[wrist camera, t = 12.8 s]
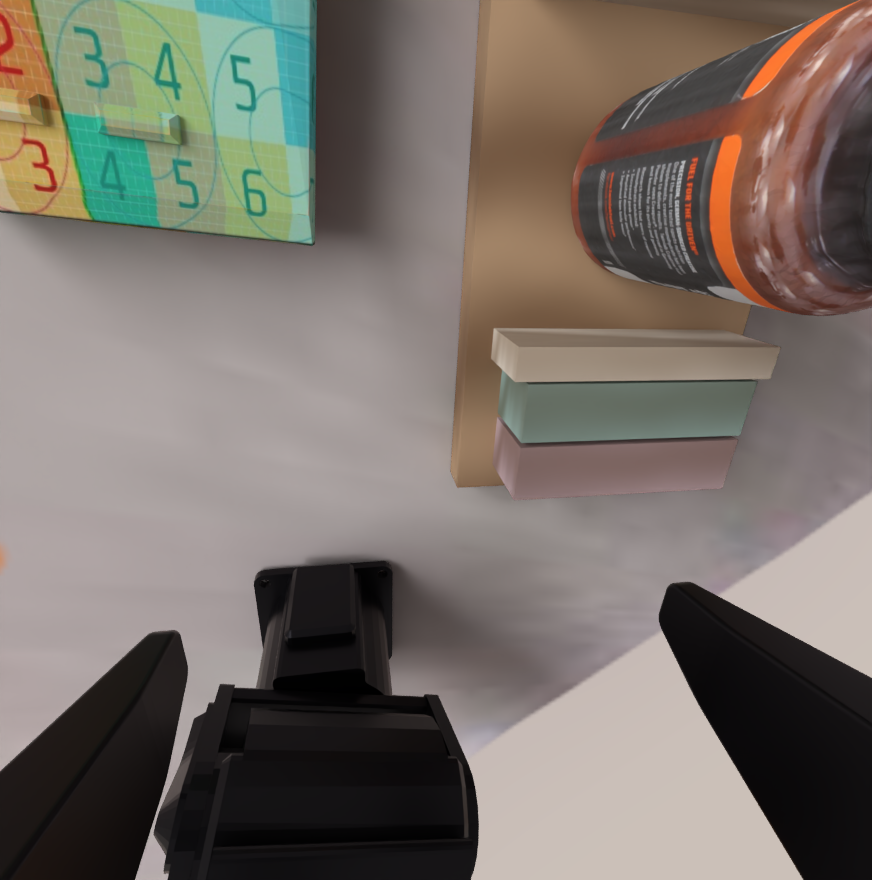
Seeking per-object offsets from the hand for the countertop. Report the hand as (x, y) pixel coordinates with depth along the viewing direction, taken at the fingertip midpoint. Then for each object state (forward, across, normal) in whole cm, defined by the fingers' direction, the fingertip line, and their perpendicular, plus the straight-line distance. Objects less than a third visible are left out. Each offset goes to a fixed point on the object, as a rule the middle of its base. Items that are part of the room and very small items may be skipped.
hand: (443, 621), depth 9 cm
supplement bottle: (+12, -9, -8) cm, 17 cm away
